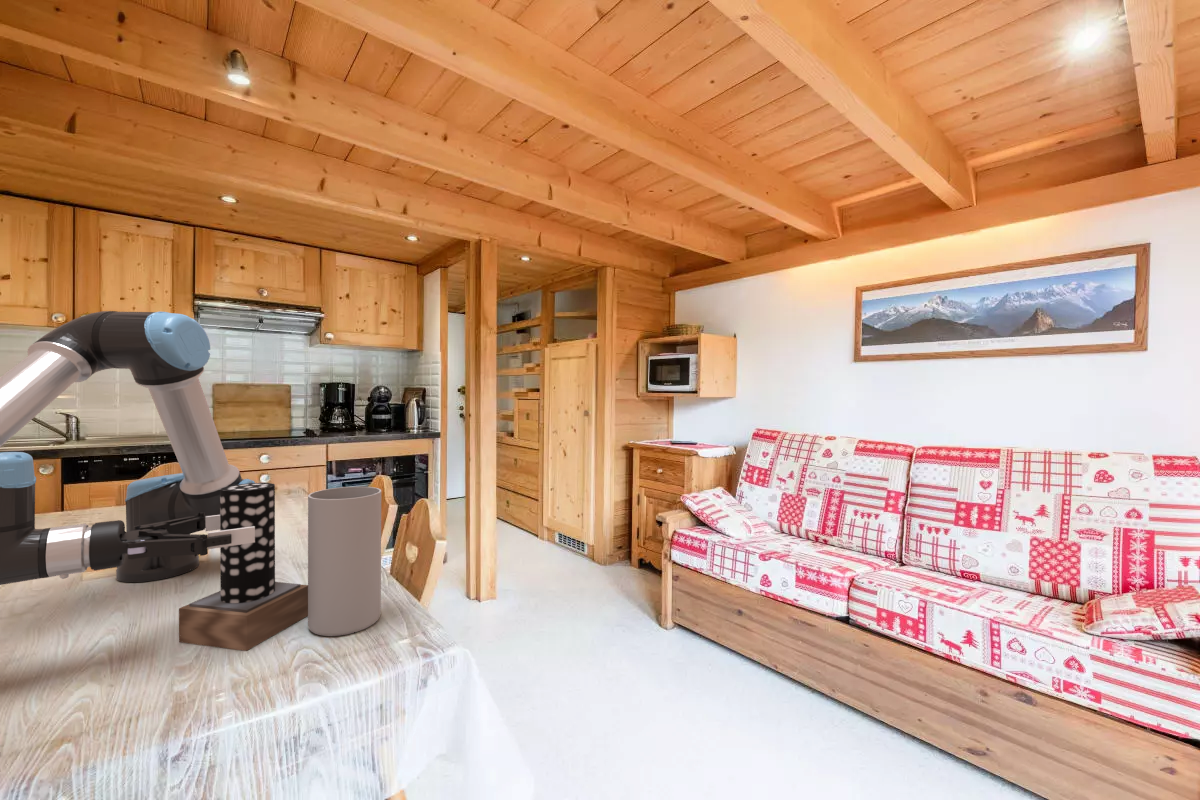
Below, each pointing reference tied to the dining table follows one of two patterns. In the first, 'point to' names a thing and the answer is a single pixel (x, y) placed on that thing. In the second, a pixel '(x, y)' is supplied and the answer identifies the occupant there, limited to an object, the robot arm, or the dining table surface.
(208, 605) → the display pedestal
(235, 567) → the spotted tube
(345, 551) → the cylinder vase
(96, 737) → the dining table surface
